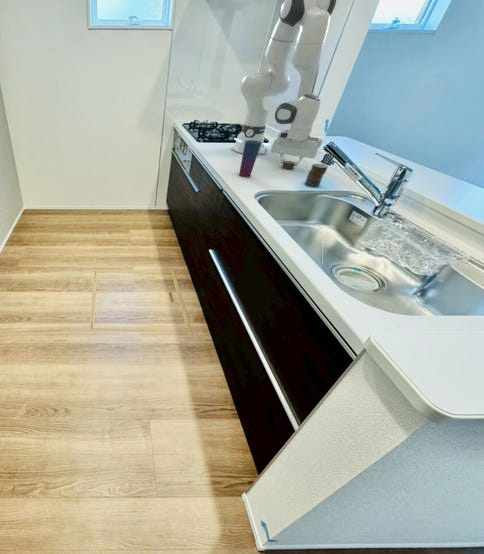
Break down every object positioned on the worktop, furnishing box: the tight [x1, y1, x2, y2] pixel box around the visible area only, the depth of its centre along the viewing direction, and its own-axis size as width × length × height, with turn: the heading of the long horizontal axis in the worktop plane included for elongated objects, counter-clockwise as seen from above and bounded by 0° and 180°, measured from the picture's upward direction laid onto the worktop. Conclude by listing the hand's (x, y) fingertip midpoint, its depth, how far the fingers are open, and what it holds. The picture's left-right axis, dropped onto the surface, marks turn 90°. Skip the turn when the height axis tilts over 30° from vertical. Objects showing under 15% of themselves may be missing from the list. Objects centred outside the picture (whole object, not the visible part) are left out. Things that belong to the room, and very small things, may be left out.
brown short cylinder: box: [281, 160, 296, 170], centre depth 150 cm, size 5×5×3 cm
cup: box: [238, 140, 262, 178], centre depth 137 cm, size 7×7×15 cm
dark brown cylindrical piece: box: [304, 163, 329, 188], centre depth 129 cm, size 6×6×8 cm
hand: (288, 164), depth 150 cm, fingers closed on brown short cylinder, 5 cm apart
